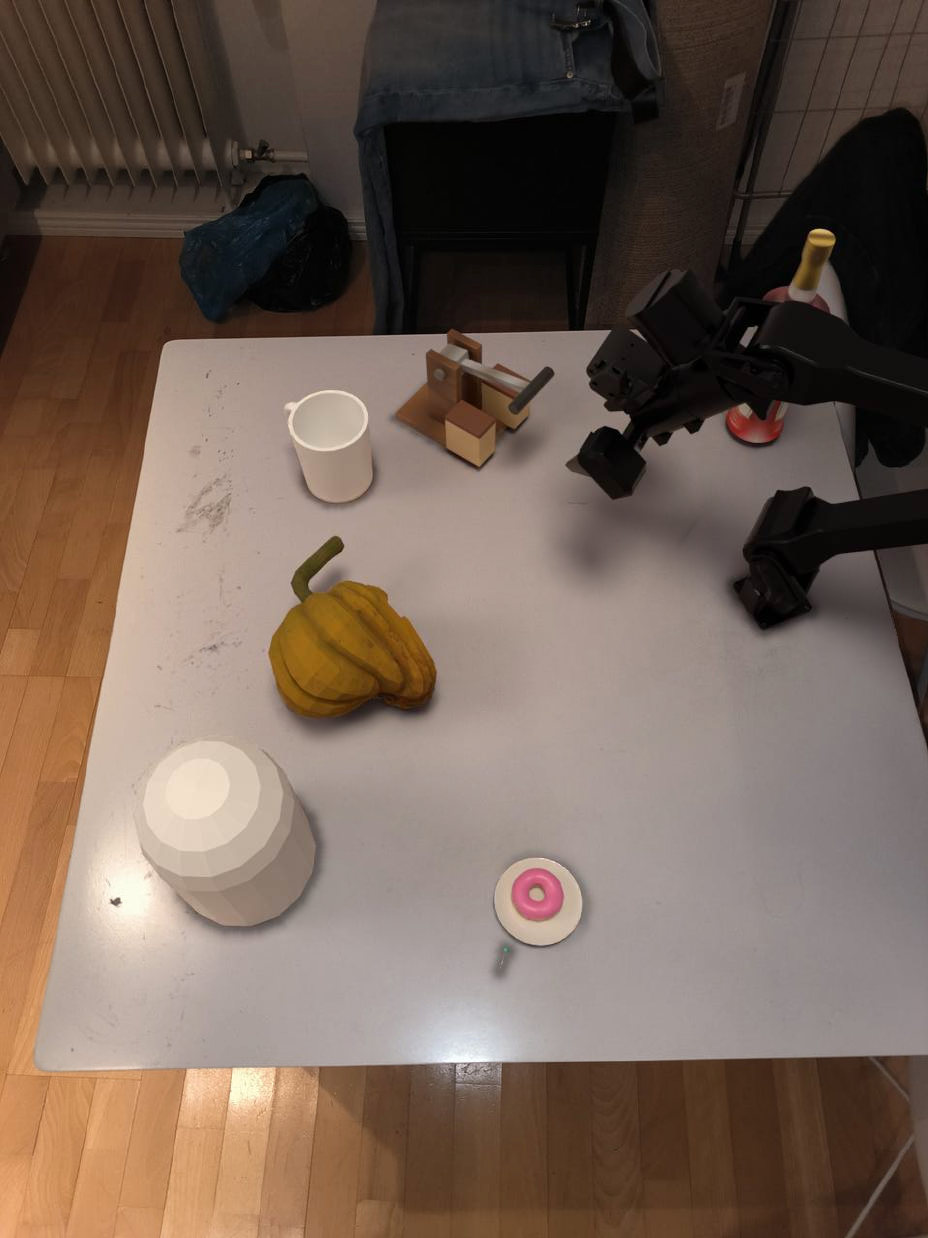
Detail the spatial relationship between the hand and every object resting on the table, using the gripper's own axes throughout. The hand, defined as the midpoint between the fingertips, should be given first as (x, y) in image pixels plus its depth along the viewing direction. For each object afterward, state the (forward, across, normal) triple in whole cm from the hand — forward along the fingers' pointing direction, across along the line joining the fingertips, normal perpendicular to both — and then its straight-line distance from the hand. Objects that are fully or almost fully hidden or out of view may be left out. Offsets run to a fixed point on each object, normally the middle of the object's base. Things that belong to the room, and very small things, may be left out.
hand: (587, 436), depth 101 cm
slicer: (+23, -6, -7) cm, 25 cm away
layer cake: (+19, -5, -3) cm, 20 cm away
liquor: (+2, -22, +19) cm, 29 cm away
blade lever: (+12, -5, -9) cm, 16 cm away
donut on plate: (0, +44, +22) cm, 49 cm away
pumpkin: (+18, +30, -1) cm, 35 cm away
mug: (+29, +9, -13) cm, 33 cm away
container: (+17, +52, +1) cm, 55 cm away
